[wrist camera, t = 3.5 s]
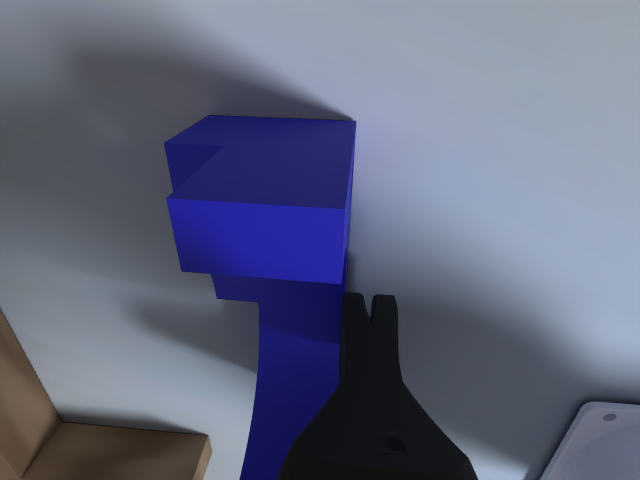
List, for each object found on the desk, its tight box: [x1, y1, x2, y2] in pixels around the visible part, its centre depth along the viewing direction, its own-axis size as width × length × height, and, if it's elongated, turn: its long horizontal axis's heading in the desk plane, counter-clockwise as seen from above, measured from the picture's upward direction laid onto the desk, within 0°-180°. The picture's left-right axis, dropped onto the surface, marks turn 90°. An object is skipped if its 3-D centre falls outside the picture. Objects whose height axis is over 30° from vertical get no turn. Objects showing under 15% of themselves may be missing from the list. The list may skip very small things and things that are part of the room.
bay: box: [0, 309, 212, 480], centre depth 14 cm, size 10×24×3 cm, turn 179°
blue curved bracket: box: [164, 115, 356, 480], centre depth 12 cm, size 12×4×6 cm, turn 179°
